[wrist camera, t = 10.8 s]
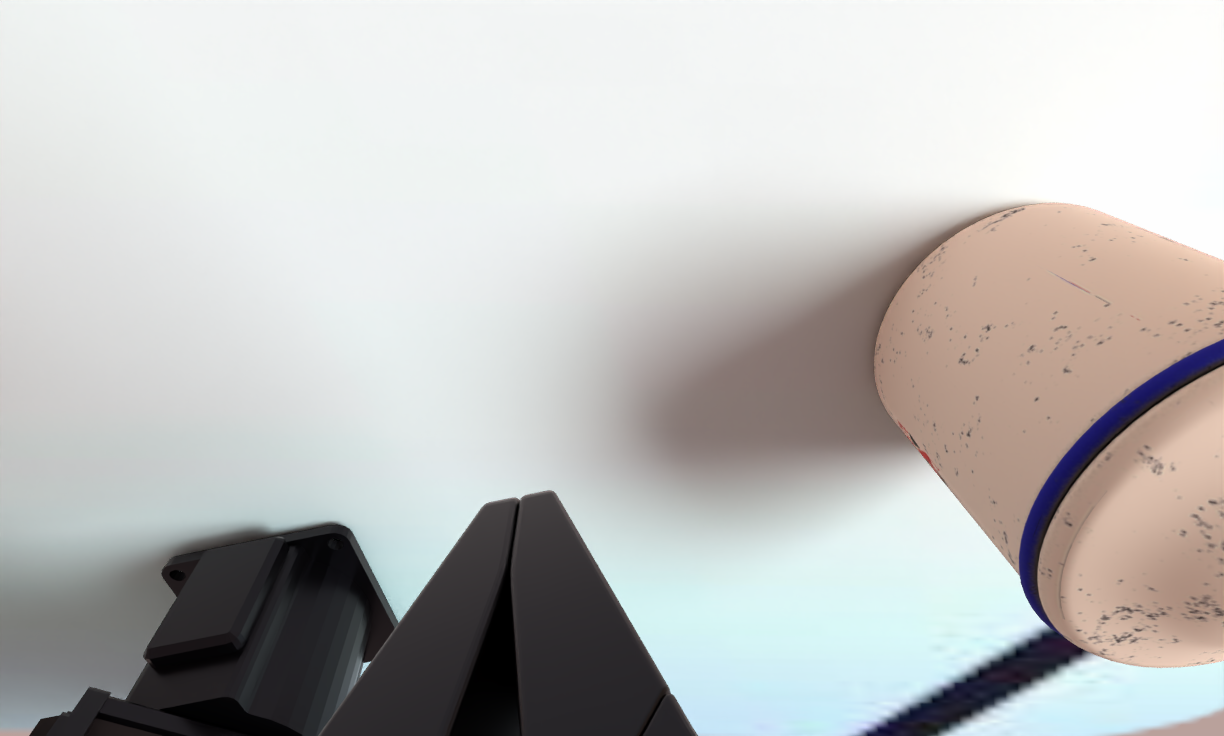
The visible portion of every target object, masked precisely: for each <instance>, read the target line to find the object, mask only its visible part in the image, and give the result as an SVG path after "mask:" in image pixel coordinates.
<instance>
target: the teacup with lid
mask: <svg viewBox="0 0 1224 736" xmlns="http://www.w3.org/2000/svg"><path fill="white" fill-rule="evenodd" d="M874 374H875V381H876V386H877V390H878V394H879V396H880V398H881V401H882V403H883V405H884V407H885V408H886V410H887V412H888V414H889V415H890V416H891V418H892V419H893V420H894V421H895V423H896V424H897V425H898V426H899V428H900V429H901V430H902V431H903V433H904V434H905V435H906V436H907V437H908V439H909V440H910V441H911V442H912V444H913V445H914V446H915V447H916V449H917V450H918V451H919V452H920V453H921V455H922V456H923V457H924V458H925V460H926V461H927V462H928V463H929V465H930V466H931V467H932V468H933V470H934V471H935V472H936V473H937V474H938V476H939V477H940V478H941V479H942V481H943V482H944V483H945V484H946V486H947V487H948V488H949V489H950V490H951V492H952V493H953V494H954V495H955V497H956V498H957V499H958V500H959V502H960V503H961V504H962V505H963V507H964V508H965V509H966V510H967V511H968V513H969V514H970V515H971V516H972V518H973V519H974V520H975V521H976V523H977V524H978V525H979V526H980V527H981V529H982V530H983V531H984V532H985V534H986V535H987V536H988V537H989V539H990V540H991V541H992V542H993V544H994V545H995V546H996V547H997V548H998V550H999V551H1000V552H1001V553H1002V555H1003V556H1004V557H1005V558H1006V560H1007V561H1008V562H1009V563H1010V564H1011V566H1012V567H1013V568H1014V569H1015V571H1016V572H1017V573H1018V574H1019V576H1020V579H1021V584H1022V587H1023V590H1024V593H1025V596H1026V598H1027V600H1028V601H1029V603H1030V605H1031V607H1032V608H1033V610H1034V611H1035V612H1036V614H1037V615H1038V616H1039V617H1040V619H1041V620H1042V621H1044V622H1045V623H1046V624H1047V625H1048V626H1049V627H1050V628H1051V629H1053V630H1054V631H1056V632H1057V633H1059V634H1060V635H1062V636H1063V637H1065V638H1066V639H1068V640H1069V641H1071V642H1072V643H1074V644H1075V645H1076V646H1078V647H1080V648H1082V649H1084V650H1086V651H1088V652H1091V653H1093V654H1095V655H1097V656H1100V657H1102V658H1105V659H1108V660H1111V661H1115V662H1119V663H1123V664H1128V665H1134V666H1141V667H1156V668H1168V667H1187V666H1197V665H1204V664H1210V663H1215V662H1220V661H1224V261H1223V260H1221V259H1218V258H1216V257H1213V256H1211V255H1208V254H1206V253H1203V252H1201V251H1198V250H1196V249H1193V248H1191V247H1188V246H1186V245H1183V244H1181V243H1178V242H1176V241H1173V240H1170V239H1168V238H1165V237H1163V236H1160V235H1158V234H1155V233H1153V232H1150V231H1148V230H1145V229H1143V228H1140V227H1138V226H1135V225H1133V224H1130V223H1128V222H1125V221H1123V220H1120V219H1118V218H1115V217H1113V216H1110V215H1108V214H1105V213H1103V212H1100V211H1098V210H1095V209H1091V208H1088V207H1084V206H1079V205H1074V204H1066V203H1041V204H1034V205H1027V206H1022V207H1018V208H1013V209H1009V210H1006V211H1003V212H1000V213H997V214H994V215H992V216H989V217H987V218H985V219H982V220H980V221H978V222H976V223H974V224H972V225H970V226H969V227H967V228H965V229H964V230H962V231H960V232H959V233H957V234H955V235H954V236H952V237H951V238H950V239H948V240H947V241H946V242H944V243H943V244H941V245H940V246H939V247H938V248H937V249H935V250H934V251H933V252H932V253H931V254H930V255H929V256H928V257H926V258H925V259H924V260H923V261H922V262H921V263H920V264H919V265H918V266H917V268H916V269H915V270H914V271H913V272H912V273H911V274H910V276H909V277H908V278H907V279H906V281H905V282H904V284H903V285H902V286H901V288H900V289H899V291H898V292H897V294H896V295H895V297H894V299H893V300H892V302H891V304H890V306H889V308H888V310H887V312H886V314H885V316H884V319H883V321H882V324H881V327H880V330H879V333H878V336H877V341H876V346H875V355H874Z"/></svg>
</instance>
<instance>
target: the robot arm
mask: <svg viewBox="0 0 1224 736" xmlns="http://www.w3.org/2000/svg"><path fill="white" fill-rule="evenodd" d="M332 538H337V539H339V540H341V541H336V540H333V539H332ZM181 571H182V572H181ZM162 576H163V579H164V580H165V581H166V583H167V584H168V585H169V587H170V588H171V589H172V591H173V592H174V593H175V595H176V596H177V598H176V600H175V602H174V603H173V605H172V607H171V608H170V610H169V612H168V613H167V615H166V617H165V618H164V620H163V621H162V623H161V625H160V626H159V628H158V630H157V631H156V633H155V635H154V636H153V638H152V640H151V641H150V643H149V645H148V646H147V648H146V650H145V652H144V655H143V657H144V659H145V660H146V661H147V662H148V663H147V664H146V666H145V668H144V669H143V671H142V673H141V674H140V676H139V678H138V680H137V681H136V683H135V685H134V686H133V688H132V690H131V691H130V693H129V695H128V696H127V698H126V700H122V699H118V698H114V697H111V696H110V694H111V692H107V691H104V690H100V689H96V688H93V687H89V688H88V690H87V691H86V693H85V694H84V695H83V697H82V698H81V700H80V701H79V703H78V704H77V705H76V707H75V708H74V710H73V711H72V712H69V711H68V712H67V713H65V712H63V713H62V714H61V715H59V716H54V717H49V718H44V719H40V721H39V722H38V724H37V725H36V727H35V728H34V730H33V731H32V732H31V734H30V735H29V736H698V735H697V734H696V732H695V730H694V729H693V727H692V726H691V724H690V722H689V721H688V719H687V717H686V715H685V714H684V712H683V710H682V709H681V707H680V705H679V703H678V702H677V700H676V698H675V697H674V695H672V694H671V693H670V689H669V687H668V685H667V684H666V682H665V680H664V678H663V677H662V675H661V673H660V671H659V670H658V668H657V666H656V665H655V663H654V661H653V659H652V658H651V656H650V654H649V653H648V651H647V649H646V647H645V646H644V644H643V642H642V641H641V639H640V637H639V635H638V634H637V632H636V630H635V629H634V627H633V625H632V623H631V622H630V620H629V618H628V617H627V615H626V613H625V611H624V610H623V608H622V606H621V604H620V603H619V601H618V599H617V598H616V596H615V594H614V592H613V591H612V589H611V587H610V586H609V584H608V582H607V580H606V579H605V577H604V575H603V574H602V572H601V570H600V568H599V567H598V565H597V563H596V562H595V560H594V558H593V556H592V555H591V553H590V551H589V550H588V548H587V546H586V544H585V543H584V541H583V539H582V538H581V536H580V534H579V532H578V531H577V529H576V527H575V525H574V524H573V522H572V520H571V519H570V517H569V515H568V513H567V512H566V510H565V508H564V507H563V505H562V503H561V501H560V500H559V498H558V496H557V495H556V493H555V492H554V491H551V490H548V491H543V492H538V493H533V494H528V495H525V496H523V497H522V498H521V499H520V500H519V499H517V498H508V499H503V500H498V501H493V502H489V503H486V504H485V505H484V506H483V507H482V508H481V509H480V511H479V512H478V514H477V515H476V516H475V518H474V519H473V521H472V522H471V523H470V525H469V526H468V527H467V529H466V530H465V532H464V533H463V534H462V536H461V537H460V539H459V540H458V541H457V543H456V544H455V546H454V547H453V548H452V550H451V551H450V553H449V554H448V555H447V557H446V558H445V560H444V561H443V562H442V564H441V565H440V567H439V568H438V569H437V571H436V572H435V573H434V575H433V576H432V578H431V579H430V580H429V582H428V583H427V585H426V586H425V587H424V589H423V590H422V592H421V593H420V594H419V596H418V597H417V599H416V600H415V601H414V603H413V604H412V606H411V607H410V608H409V610H408V611H407V613H406V614H405V615H404V617H403V618H402V620H401V621H400V622H399V623H398V621H397V619H396V617H395V615H394V613H393V611H392V609H391V607H390V605H389V603H388V601H387V599H386V597H385V595H384V593H383V591H382V589H381V587H380V585H379V583H378V581H377V580H376V578H375V576H374V574H373V572H372V570H371V568H370V566H369V564H368V562H367V560H366V558H365V556H364V554H363V552H362V550H361V548H360V546H359V544H358V542H357V540H356V538H355V536H354V534H353V533H352V531H351V530H350V529H349V528H347V527H345V526H342V525H330V526H325V527H320V528H315V529H310V530H305V531H300V532H295V533H290V534H285V535H280V536H275V537H270V538H265V539H260V540H255V541H250V542H245V543H240V544H235V545H230V546H225V547H220V548H215V549H210V550H205V551H200V552H195V553H190V554H185V555H180V556H175V557H173V558H171V559H170V560H169V561H168V562H167V564H166V565H165V567H164V568H163V570H162ZM370 661H371V663H370V664H369V666H368V667H367V668H366V670H365V671H364V672H363V674H362V675H361V677H360V674H361V671H362V667H363V663H365V662H370Z"/></svg>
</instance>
